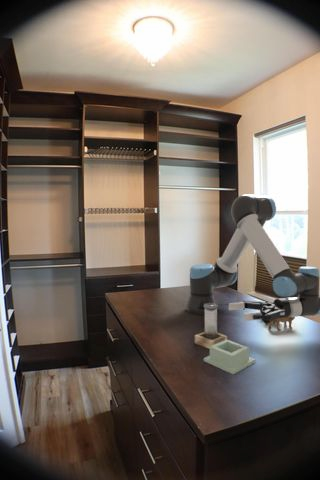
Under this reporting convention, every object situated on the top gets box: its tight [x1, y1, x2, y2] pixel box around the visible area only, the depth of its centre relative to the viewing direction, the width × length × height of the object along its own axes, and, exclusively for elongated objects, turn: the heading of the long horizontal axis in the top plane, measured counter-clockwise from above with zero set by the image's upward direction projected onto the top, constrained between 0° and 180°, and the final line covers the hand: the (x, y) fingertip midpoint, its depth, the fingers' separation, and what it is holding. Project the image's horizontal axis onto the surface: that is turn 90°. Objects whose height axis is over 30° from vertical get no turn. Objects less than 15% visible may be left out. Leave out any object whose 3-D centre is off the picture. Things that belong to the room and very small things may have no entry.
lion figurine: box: [268, 317, 296, 331], centre depth 136 cm, size 15×5×9 cm, turn 117°
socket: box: [203, 339, 256, 375], centre depth 106 cm, size 12×12×5 cm
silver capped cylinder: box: [204, 302, 219, 340], centre depth 121 cm, size 5×5×15 cm
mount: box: [194, 331, 228, 350], centre depth 121 cm, size 9×9×3 cm
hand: (235, 311), depth 122 cm, fingers open, 13 cm apart
